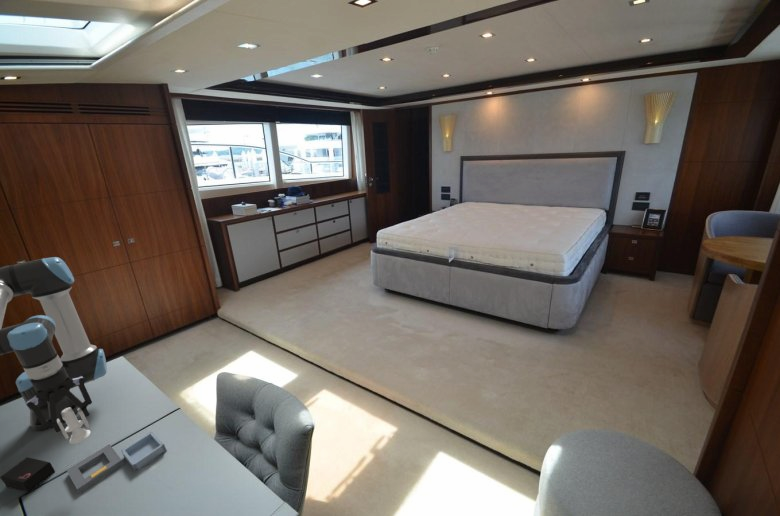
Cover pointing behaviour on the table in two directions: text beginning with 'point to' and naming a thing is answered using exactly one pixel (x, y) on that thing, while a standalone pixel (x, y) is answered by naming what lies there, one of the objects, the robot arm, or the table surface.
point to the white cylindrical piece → (74, 426)
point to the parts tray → (143, 451)
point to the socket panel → (99, 474)
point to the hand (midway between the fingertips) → (76, 430)
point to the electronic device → (27, 474)
